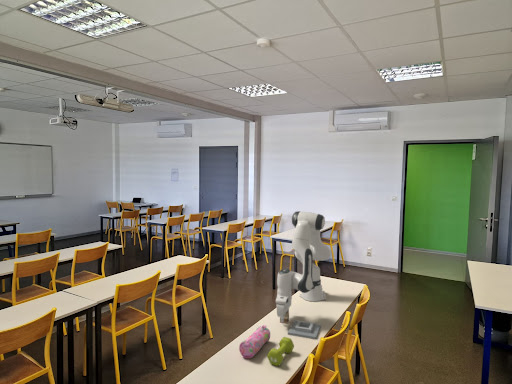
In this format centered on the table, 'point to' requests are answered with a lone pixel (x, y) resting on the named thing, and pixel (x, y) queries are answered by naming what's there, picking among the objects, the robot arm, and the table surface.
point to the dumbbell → (280, 351)
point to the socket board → (304, 329)
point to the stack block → (285, 318)
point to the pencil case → (254, 342)
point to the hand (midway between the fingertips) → (284, 318)
